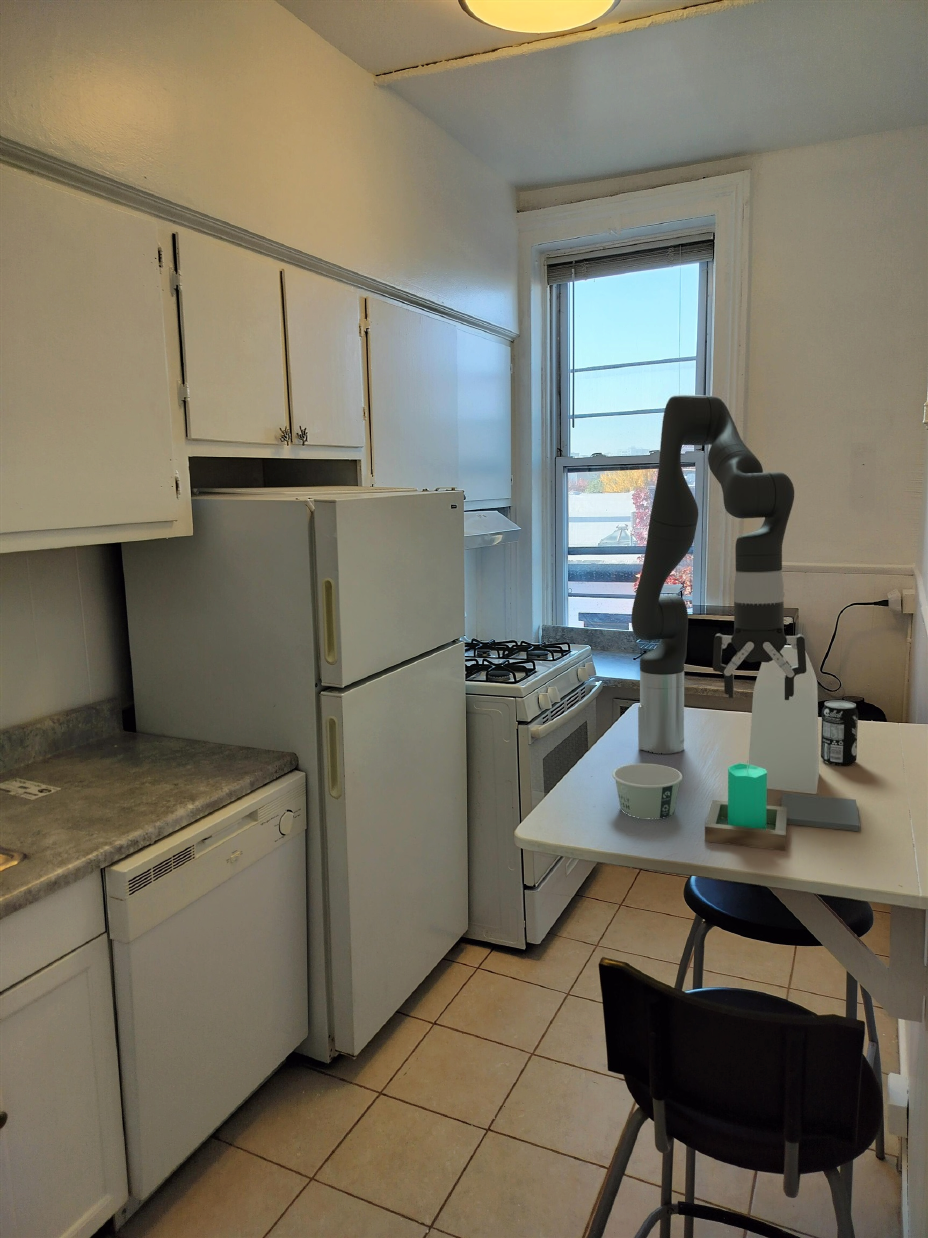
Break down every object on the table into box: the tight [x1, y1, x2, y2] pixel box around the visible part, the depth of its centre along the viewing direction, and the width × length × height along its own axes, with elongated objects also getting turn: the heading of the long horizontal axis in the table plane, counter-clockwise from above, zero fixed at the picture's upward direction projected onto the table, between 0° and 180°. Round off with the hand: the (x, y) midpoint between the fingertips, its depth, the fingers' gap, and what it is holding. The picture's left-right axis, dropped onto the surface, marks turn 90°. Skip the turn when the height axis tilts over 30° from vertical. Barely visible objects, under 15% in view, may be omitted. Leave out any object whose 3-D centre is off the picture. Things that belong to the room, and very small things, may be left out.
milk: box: [748, 644, 820, 795], centre depth 159 cm, size 12×12×26 cm
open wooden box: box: [704, 799, 788, 852], centre depth 138 cm, size 12×12×2 cm
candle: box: [727, 760, 768, 829], centre depth 137 cm, size 6×6×12 cm
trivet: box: [780, 792, 861, 832], centre depth 144 cm, size 12×12×1 cm
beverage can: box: [820, 699, 859, 767], centre depth 169 cm, size 7×7×12 cm
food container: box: [611, 763, 683, 820], centre depth 148 cm, size 12×12×6 cm
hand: (758, 698), depth 137 cm, fingers open, 8 cm apart
